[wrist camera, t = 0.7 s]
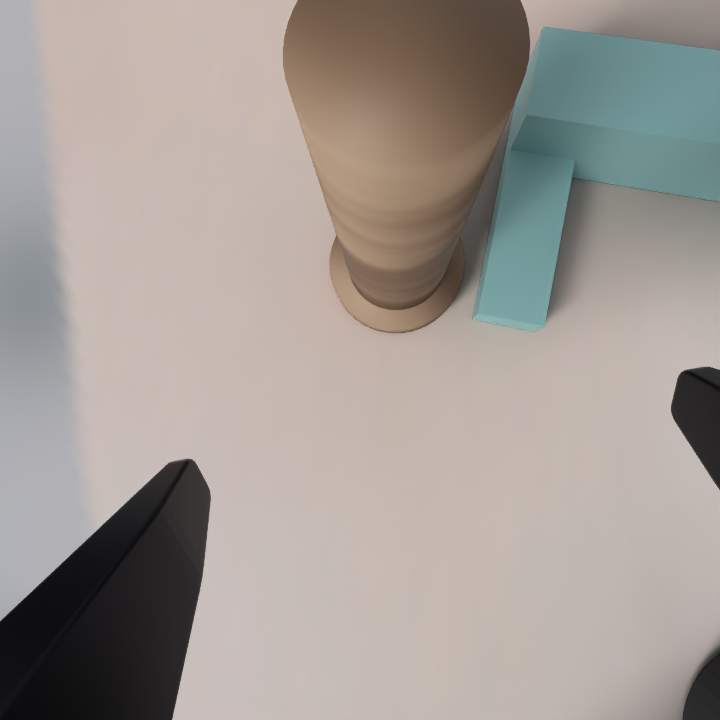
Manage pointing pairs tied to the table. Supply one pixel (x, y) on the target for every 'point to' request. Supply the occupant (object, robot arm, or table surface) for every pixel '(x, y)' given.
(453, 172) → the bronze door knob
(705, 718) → the pen holder
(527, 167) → the notched board
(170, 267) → the table surface
